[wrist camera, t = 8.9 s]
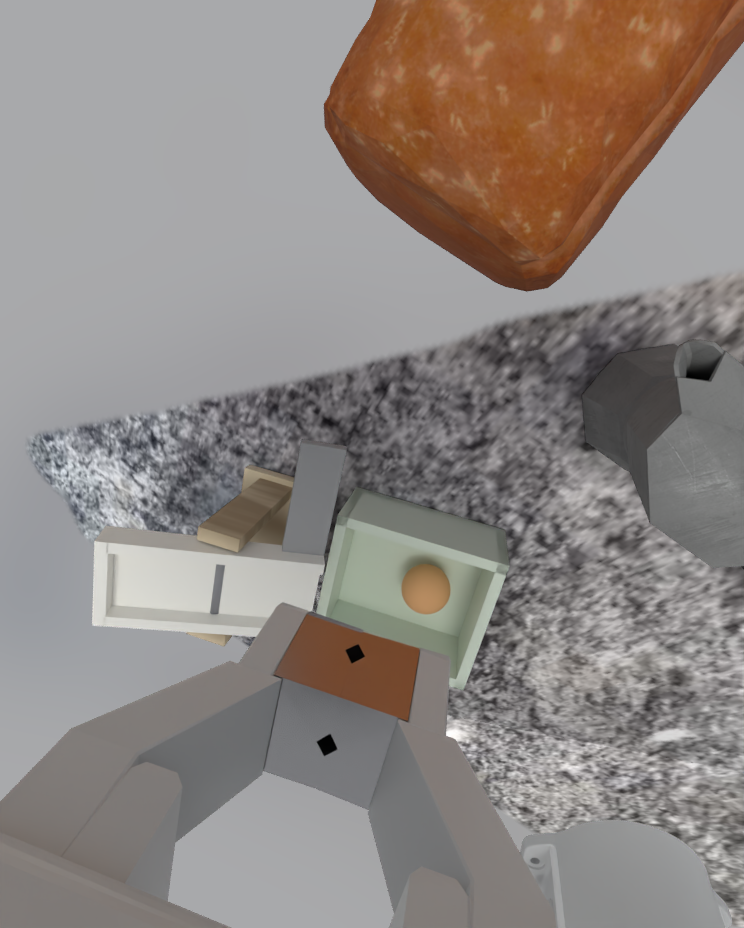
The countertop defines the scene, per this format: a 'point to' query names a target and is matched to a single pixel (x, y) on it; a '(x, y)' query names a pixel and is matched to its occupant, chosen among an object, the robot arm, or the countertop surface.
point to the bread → (520, 116)
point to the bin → (393, 554)
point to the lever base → (249, 519)
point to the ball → (425, 589)
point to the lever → (220, 565)
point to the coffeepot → (678, 441)
